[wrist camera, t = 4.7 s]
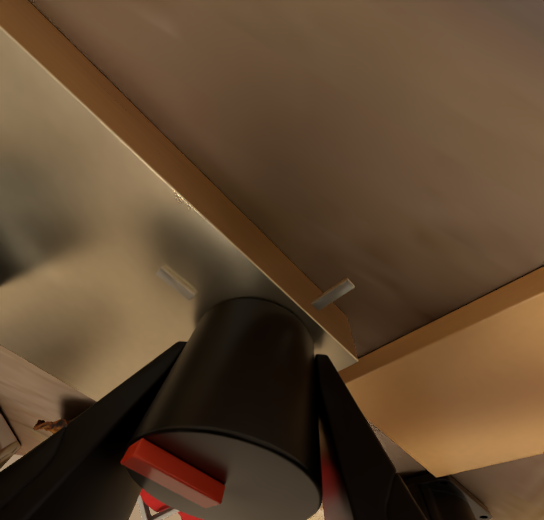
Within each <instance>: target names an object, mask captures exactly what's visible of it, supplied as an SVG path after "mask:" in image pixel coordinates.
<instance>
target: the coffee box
mask: <svg viewBox="0 0 544 520" xmlns="http://www.w3.org/2000/svg"><path fill="white" fill-rule="evenodd" d="M20 447H21V445H20V444H19V442H18V441H17V439H16V437H15V436H14V434H13V432H12V431H11V429H10V428H9V426H8V424H7V423H6V421H5V419H4V418H3V416H2V414H1V413H0V468H1V467H2V466H3V465H4V464H5V463H6V462H7V461H8V460H9V459H10V458H11V457H12V456H13V455H14V454H15V453H16V451H17V450H18V449H19V448H20Z"/></svg>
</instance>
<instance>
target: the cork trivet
mask: <svg viewBox="0 0 544 520" xmlns="http://www.w3.org/2000/svg"><path fill="white" fill-rule="evenodd" d="M358 360H359V361H358V362H357V363H355V364H353V365H351V366H349V367H347V368H344V369H342V370H340V371H338V373H339V375H340V377H341V378H342V380H343V382H344V383H345V385H346V387H347V388H348V390H349V392H350V393H351V395H352V397H353V398H354V400H355V402H356V403H357V405H358V407H359V408H360V410H361V412H362V413H363V415H364V417H365V418H366V419H367V420H369V421H370V422H371V423H372V424H373V425H375V426H376V427H377V428H378V429H379V430H380V431H382V432H383V433H384V434H385V435H386V436H388V437H389V438H390V439H391V440H392V441H393V442H395V443H396V444H397V445H398V446H399V447H401V448H402V449H403V450H404V451H405V452H407V453H408V454H409V455H410V456H411V457H412V458H414V459H415V460H416V461H417V462H418V463H420V464H421V465H422V466H423V467H424V468H425V469H427V470H428V471H429V472H430V473H431V474H433V475H434V476H435V477H441V476H446V475H450V474H455V473H459V472H463V471H468V470H472V469H476V468H481V467H485V466H490V465H494V464H498V463H503V462H507V461H511V460H516V459H520V458H524V457H529V456H533V455H538V454H542V453H544V266H543V267H541V268H539V269H537V270H535V271H533V272H531V273H529V274H527V275H525V276H523V277H521V278H519V279H517V280H515V281H513V282H511V283H509V284H507V285H505V286H503V287H501V288H499V289H497V290H495V291H493V292H491V293H489V294H487V295H485V296H483V297H481V298H479V299H477V300H475V301H473V302H471V303H469V304H467V305H465V306H463V307H461V308H459V309H457V310H455V311H453V312H451V313H449V314H447V315H445V316H443V317H441V318H439V319H437V320H435V321H433V322H431V323H429V324H427V325H425V326H423V327H421V328H419V329H417V330H415V331H413V332H411V333H409V334H407V335H405V336H403V337H401V338H399V339H397V340H395V341H393V342H391V343H389V344H387V345H385V346H383V347H381V348H379V349H377V350H375V351H373V352H371V353H369V354H367V355H365V356H363V357H361V358H359V359H358Z"/></svg>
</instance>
